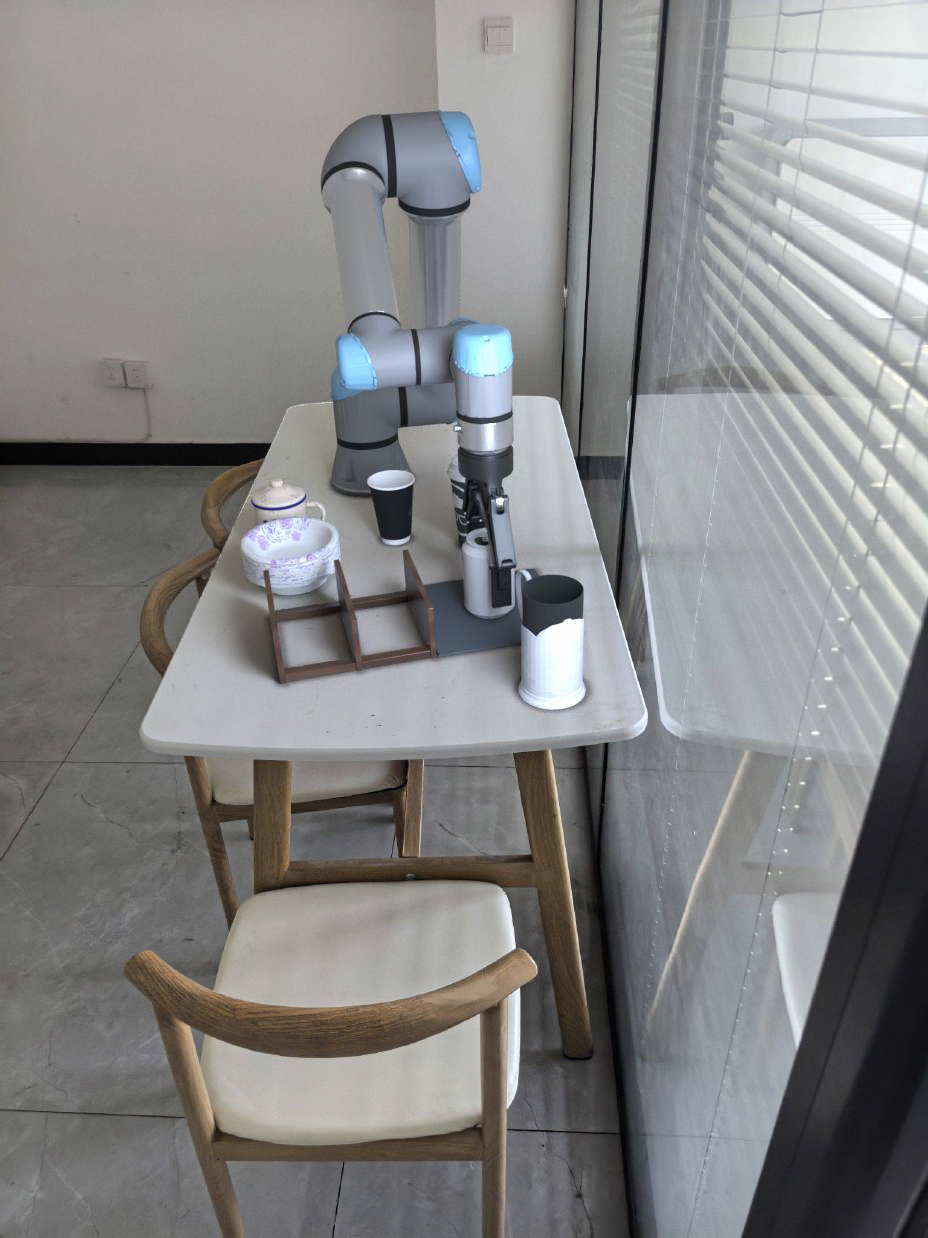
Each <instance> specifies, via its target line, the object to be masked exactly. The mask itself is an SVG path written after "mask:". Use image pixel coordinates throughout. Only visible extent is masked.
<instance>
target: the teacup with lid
mask: <svg viewBox="0 0 928 1238" xmlns="http://www.w3.org/2000/svg"><path fill="white" fill-rule="evenodd" d="M306 499H307V493H306V491H305V489H304V488H302V487H301V486H300V485H297V484H292V483H286V482H283V480H282V479H281V478H279V477H278V478H277V477H276V478H273V479H271V480H270V483H269V484H267V485H266V486H263V487H261V488H259V489H257V490H256V491H255V492H254V493H252V496H251V500H250V504H251V505H252V506H253V512H254V519H255V524H256V525H255V526H259V525H261V524H263V523H266V522H269V521H273V520H277V519H282V518H288V517H309V515H308V508H310V507H313V508H314V507H315V508H318V509H319V510H320V511H321V517H320V518H319V519H320V520H324V521H326V517H327V510H326V507H325V505H324V504H322V503H321V502H320V501H318V500H317V501H316V500H308V501H306Z"/></svg>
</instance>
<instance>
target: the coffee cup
mask: <svg viewBox="0 0 928 1238" xmlns="http://www.w3.org/2000/svg"><path fill="white" fill-rule="evenodd" d="M446 475H447V477H448V478H449V480H450V487H451V493H452V494H451V495H452V500H453V501H452V502H453V508H454V517H455V523H456V530H457V537H458V544H459V547H460V548H461V549H462V545H463V544H464V542H465V541H466V536H467V523H469V521H468V522H467V521H466V519H465V515H466V513H464V512H463V511H462V504H463V496H464V487H465V478H464V477H463V476H462V475H461V474H460V473H459V470H458V453H457V454H455V455H453V456H452V457H451V460H450V463H449V464H448V466H447V469H446ZM500 487H503V479H502V480H501V481H500ZM480 521H482V520H480Z"/></svg>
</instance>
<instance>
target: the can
mask: <svg viewBox="0 0 928 1238" xmlns="http://www.w3.org/2000/svg"><path fill="white" fill-rule="evenodd" d="M461 553H462V554H461V556H462V558H461V560H462V579H463V584H464V606H465V607H466V609H467V610H468V611H469V612H471V613H472V614H473V615H475V616H477V617H480V618H485V619H493V618H499V617H501V616H504V615H505V614H507V613H508V612H509V611H510V610H512V609H513V607H514V606H515V574H514V571H515V568H514V569H511V584H512V605H511V606H505V607H499V608H493V607H492V596H491V570H489V568H488V566H489V565H490V564H493V561H492V556H491V551H490V546H489V540H488V535H487V530H486V528H480V529H476V530H473V531H472V532H470V533H469V534H468V535H467V536H466V541H465V542H464V544H463V545H462V548H461Z"/></svg>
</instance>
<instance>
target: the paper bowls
mask: <svg viewBox="0 0 928 1238" xmlns="http://www.w3.org/2000/svg"><path fill="white" fill-rule="evenodd" d="M320 519H321V518H317V517H309V516H308V517H288V518H282V519H277V520H273V521H269V522H266V523H263V524H261V525H259V526H257V525H255V527H253V528H251V529H250V530H248V531H247V532H246V533H245V534H244V535H243V537H242V538H241V541H240V543H239V549H240V554H241V555H240V556H241V560H242V565H243V571H244V574H245V576H246V578H247V579H248V580H249V581H250V582H252V583H253V584H254V585H257V586H259V587H263V588H264V589H265V590H266V588H265V581H264V574H263V570H269V576H270V582H271V588H272V594H275V595H279V596H298V595H299V596H300V595H304V594H307V593H312V592H313V591H316V590H317V589H319V588H320V587H322V586H323V585H324V584H325V583H326V582H327V580H328V579H329V577H330V576H332V575H333V574H334V573H335V566H334V560H338V559H339V561H340V564H342V550H341V542H340V534H339V531H338V529H337V528H336V527H335V526H334V525H333V524H331V523H330V522H328V521H326V520H325V521H324V520H320Z"/></svg>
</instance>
